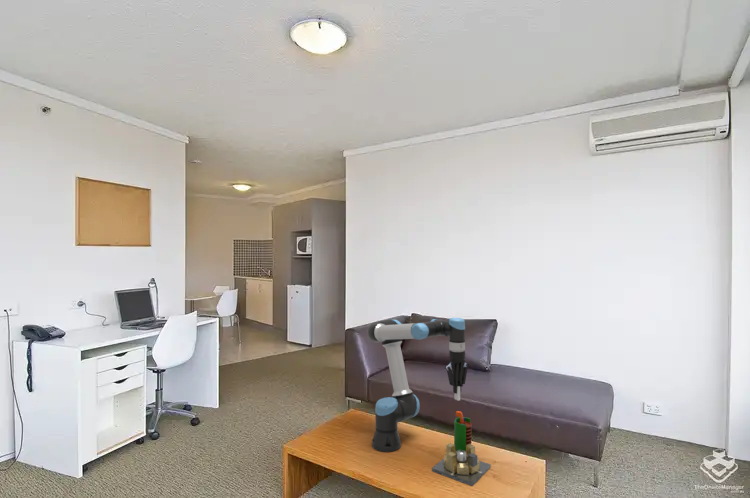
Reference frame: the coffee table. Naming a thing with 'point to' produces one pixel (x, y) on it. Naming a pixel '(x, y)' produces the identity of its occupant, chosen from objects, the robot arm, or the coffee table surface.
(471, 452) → the ring nut
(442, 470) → the flange plate
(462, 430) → the motor
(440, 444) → the coffee table surface
